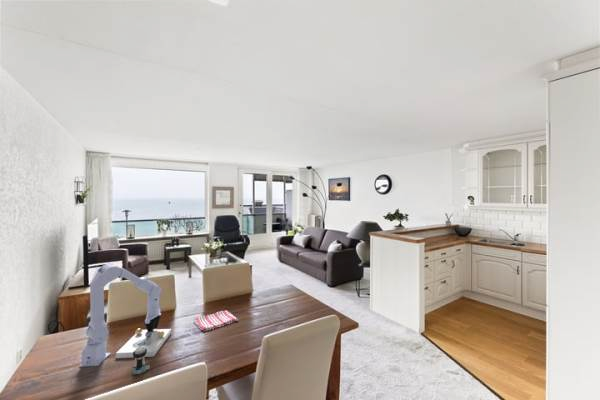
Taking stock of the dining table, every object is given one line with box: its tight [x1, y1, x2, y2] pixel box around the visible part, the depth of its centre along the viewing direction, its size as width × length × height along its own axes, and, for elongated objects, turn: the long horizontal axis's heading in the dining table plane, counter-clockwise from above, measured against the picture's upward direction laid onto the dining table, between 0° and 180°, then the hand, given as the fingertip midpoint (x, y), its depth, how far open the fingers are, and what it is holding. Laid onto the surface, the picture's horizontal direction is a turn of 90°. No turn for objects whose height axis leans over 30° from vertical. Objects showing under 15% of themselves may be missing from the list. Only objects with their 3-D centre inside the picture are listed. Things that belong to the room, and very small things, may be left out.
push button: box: [132, 347, 150, 376], centre depth 111 cm, size 7×5×10 cm
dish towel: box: [193, 310, 239, 332], centre depth 160 cm, size 17×23×4 cm
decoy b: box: [157, 331, 164, 338], centre depth 135 cm, size 3×3×3 cm
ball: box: [145, 331, 152, 338], centre depth 135 cm, size 3×3×3 cm
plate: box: [115, 328, 172, 359], centre depth 132 cm, size 22×17×2 cm
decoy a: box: [134, 327, 143, 335], centre depth 137 cm, size 3×3×3 cm
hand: (152, 330), depth 140 cm, fingers open, 5 cm apart
